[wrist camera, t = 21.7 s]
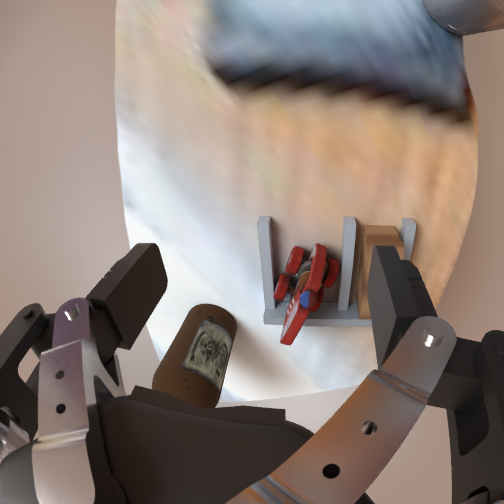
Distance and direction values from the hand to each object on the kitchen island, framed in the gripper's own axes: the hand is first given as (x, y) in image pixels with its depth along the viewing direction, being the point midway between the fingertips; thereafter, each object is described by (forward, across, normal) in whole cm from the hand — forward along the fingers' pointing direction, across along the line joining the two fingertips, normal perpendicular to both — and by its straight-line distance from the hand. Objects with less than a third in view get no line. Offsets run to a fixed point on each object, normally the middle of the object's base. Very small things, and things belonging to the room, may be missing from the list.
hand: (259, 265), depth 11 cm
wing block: (+28, -11, +18) cm, 35 cm away
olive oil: (+28, +16, +32) cm, 46 cm away
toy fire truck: (+28, -1, +20) cm, 35 cm away
